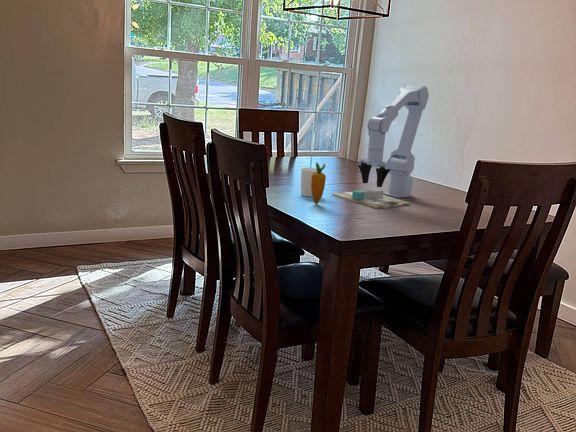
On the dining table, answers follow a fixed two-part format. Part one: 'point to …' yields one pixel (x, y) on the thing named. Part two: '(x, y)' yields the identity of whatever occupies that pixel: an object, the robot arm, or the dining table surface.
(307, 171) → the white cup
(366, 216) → the dining table surface
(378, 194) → the eraser
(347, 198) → the cream rectangular tray
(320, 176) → the carrot
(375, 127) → the robot arm
